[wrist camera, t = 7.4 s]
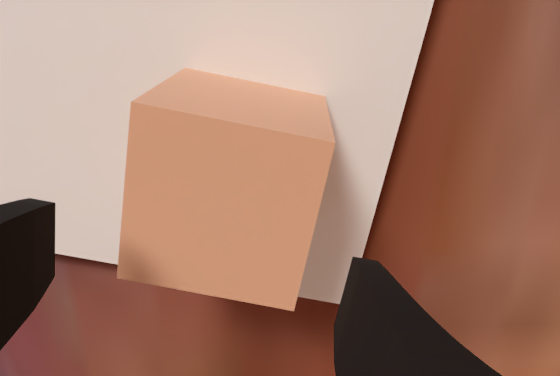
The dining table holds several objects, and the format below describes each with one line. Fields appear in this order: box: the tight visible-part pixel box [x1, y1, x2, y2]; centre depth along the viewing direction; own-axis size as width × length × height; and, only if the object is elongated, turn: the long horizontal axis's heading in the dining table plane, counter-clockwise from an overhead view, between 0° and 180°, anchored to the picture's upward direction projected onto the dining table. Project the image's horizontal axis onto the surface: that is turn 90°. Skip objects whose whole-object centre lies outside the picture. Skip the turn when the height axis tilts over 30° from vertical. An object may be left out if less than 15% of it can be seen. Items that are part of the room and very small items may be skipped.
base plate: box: [0, 0, 434, 304], centre depth 20 cm, size 18×17×1 cm
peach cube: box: [117, 68, 336, 311], centre depth 17 cm, size 6×6×6 cm
